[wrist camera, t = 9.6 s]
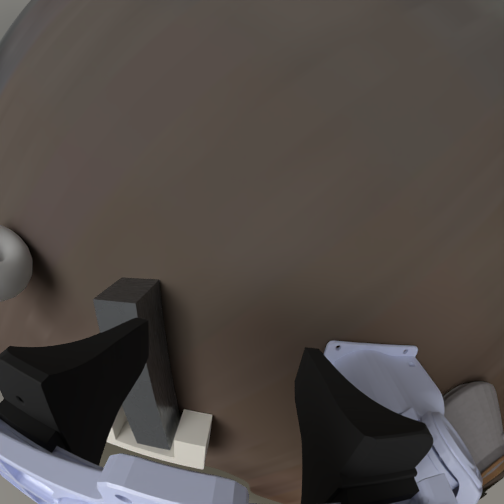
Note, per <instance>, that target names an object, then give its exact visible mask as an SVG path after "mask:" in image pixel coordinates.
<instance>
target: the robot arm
mask: <svg viewBox="0 0 504 504" xmlns="http://www.w3.org/2000/svg"><path fill="white" fill-rule="evenodd" d="M339 345H340V347H339V348H336V346H339ZM404 350H406V351H404ZM417 352H418V348H417V347H416V346H410V345H387V344H371V343H357V342H345V341H330V342H328V343H327V345H326V348H325V351H324V354H323V353H322V352H321V351H320V350H319V349H315V348H305V350H304V353H303V357H302V360H301V363H300V366H299V369H298V373H297V376H296V379H295V402H296V408H297V415H298V420H299V426H300V432H301V439H302V498H301V504H477V502H478V501H479V499H480V496H481V494H482V484H483V480H482V477H481V474H480V471H479V470H478V468H477V467H476V465H475V463H474V460H473V458H472V456H471V454H470V452H469V450H468V448H467V447H466V445H465V444H464V442H463V440H462V439H461V437H460V436H459V434H458V433H457V432H456V430H455V429H454V428H453V426H452V425H451V424H450V422H449V421H448V420H447V419H446V418H445V417H444V401H443V397H442V394H441V392H440V390H439V389H438V387H437V386H436V385H435V383H434V382H433V381H432V379H431V378H430V376H429V375H428V374H427V372H426V371H425V370H424V368H423V367H422V366H421V364H420V363H419V362H418V360H417V359H416V358H415V356H416V354H417ZM148 357H149V332H148V320H145V319H141V318H137V317H136V318H133V319H131V320H129V321H126V322H124V323H122V324H120V325H118V326H116V327H113V328H111V329H109V330H107V331H104V332H102V333H99V334H97V335H94V336H91V337H89V338H86V339H83V340H79V341H75V342H72V343H67V344H61V345H55V346H47V347H14V346H9V347H8V348H7V349H6V350H4V351H3V352H2V353H1V354H0V391H1V393H2V395H3V397H4V400H3V401H2V402H1V403H0V475H1V476H3V477H4V478H5V479H6V480H7V481H9V482H10V483H11V484H12V485H14V486H15V487H16V488H17V489H19V490H20V491H21V492H23V493H24V494H25V495H27V496H28V497H29V498H31V499H32V500H33V501H35V502H36V503H38V504H254V503H248V501H249V494H248V491H247V488H246V487H244V486H243V485H241V484H239V483H238V482H236V481H234V480H232V479H228V478H224V477H221V476H217V475H211V474H206V473H200V472H195V471H190V470H186V469H181V468H177V467H173V466H169V465H165V464H161V463H158V462H154V461H151V460H147V459H144V458H141V457H137V456H133V455H128V454H124V453H120V454H116V455H111V456H110V457H109V459H108V461H107V463H106V465H105V467H104V468H103V467H100V466H99V463H100V459H101V455H102V453H103V450H104V447H105V444H106V441H107V438H108V436H109V433H110V430H111V428H112V425H113V423H114V421H115V418H116V416H117V414H118V411H119V409H120V407H121V406H122V404H123V402H124V401H125V399H126V397H127V396H128V394H129V392H130V391H131V389H132V388H133V386H134V384H135V383H136V381H137V380H138V378H139V376H140V375H141V373H142V371H143V369H144V367H145V364H146V362H147V359H148Z"/></svg>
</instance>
